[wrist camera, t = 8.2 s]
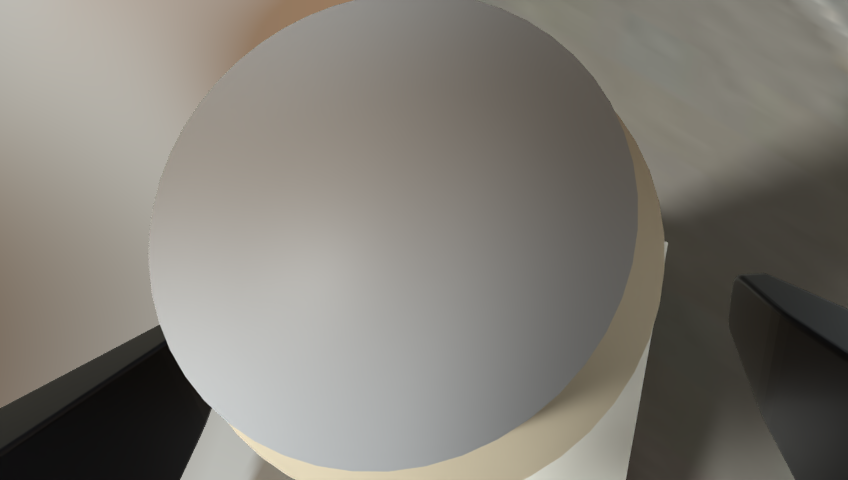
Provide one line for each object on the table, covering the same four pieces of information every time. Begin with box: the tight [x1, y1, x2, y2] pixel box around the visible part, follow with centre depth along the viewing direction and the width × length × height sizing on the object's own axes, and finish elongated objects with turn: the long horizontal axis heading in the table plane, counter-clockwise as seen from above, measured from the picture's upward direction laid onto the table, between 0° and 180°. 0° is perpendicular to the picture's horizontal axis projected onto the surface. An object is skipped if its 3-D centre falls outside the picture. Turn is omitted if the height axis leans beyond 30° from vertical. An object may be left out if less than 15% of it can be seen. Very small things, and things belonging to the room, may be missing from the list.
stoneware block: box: [524, 241, 668, 480], centre depth 18 cm, size 9×9×4 cm
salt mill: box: [149, 0, 665, 480], centre depth 10 cm, size 5×5×13 cm
